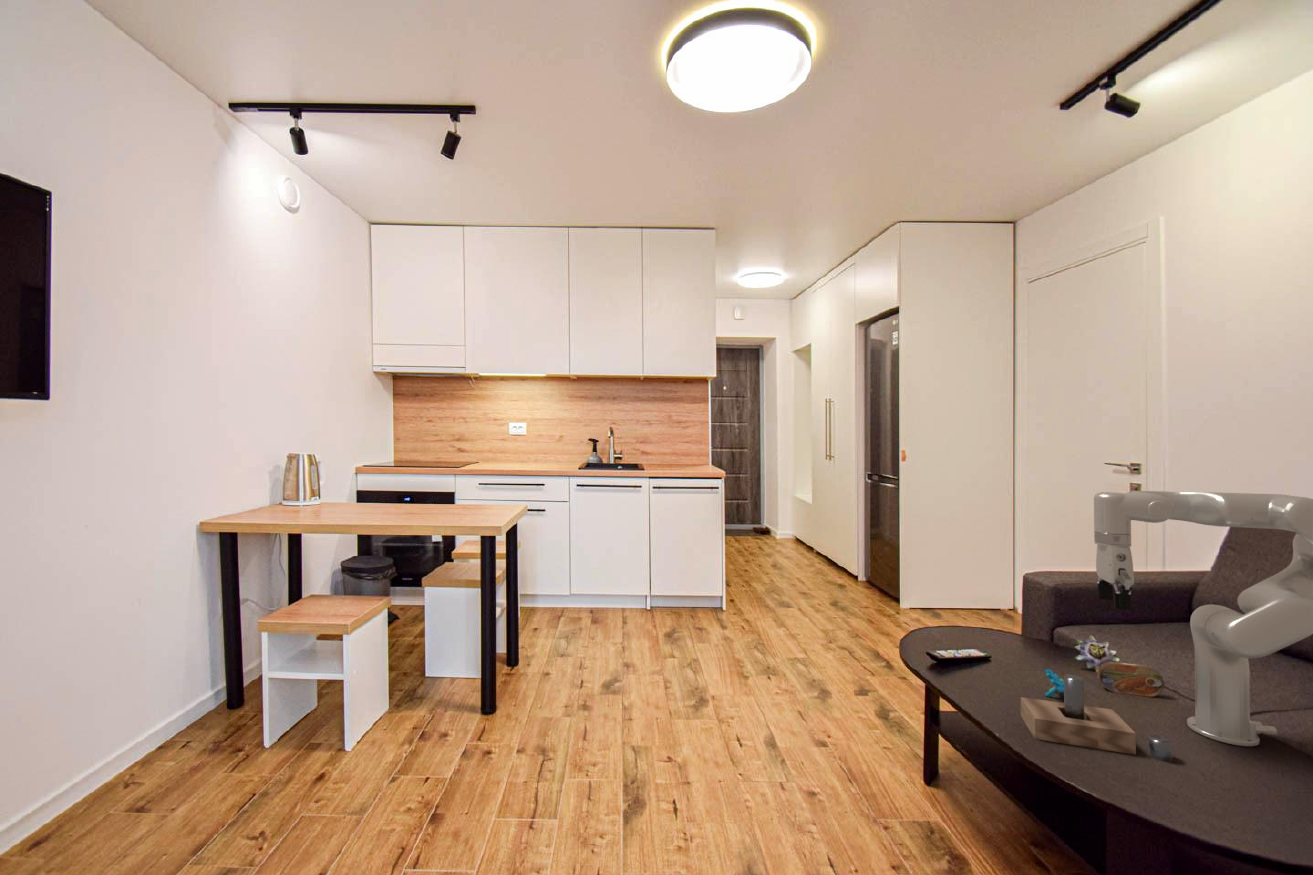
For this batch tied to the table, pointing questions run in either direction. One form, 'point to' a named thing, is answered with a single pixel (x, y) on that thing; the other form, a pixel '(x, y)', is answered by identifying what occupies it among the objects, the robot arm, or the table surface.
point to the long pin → (1073, 697)
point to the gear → (1055, 683)
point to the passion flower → (1095, 653)
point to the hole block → (1078, 726)
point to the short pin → (1160, 748)
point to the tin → (1130, 679)
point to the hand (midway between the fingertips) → (1113, 603)
